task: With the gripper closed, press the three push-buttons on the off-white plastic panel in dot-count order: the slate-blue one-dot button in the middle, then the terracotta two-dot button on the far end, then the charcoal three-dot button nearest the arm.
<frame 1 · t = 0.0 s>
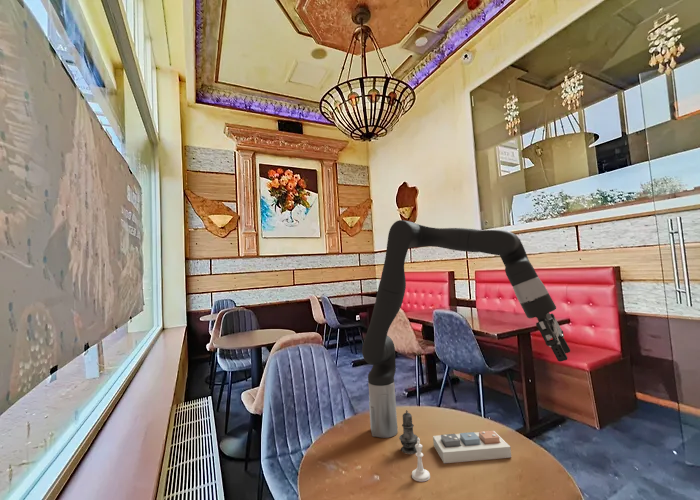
hand: (565, 356, 86), 31 cm above the table, tool tilted 20°, fingers open, 8 cm apart
dark grey tall piece: (409, 450, 105), on the table
chess piece: (420, 477, 91), on the table
button panel: (470, 451, 101), on the table
three-dot button: (450, 441, 101), point 3 cm above the table, slide at 0.0 cm
two-dot button: (489, 438, 102), point 3 cm above the table, slide at 0.0 cm
one-dot button: (469, 439, 102), point 3 cm above the table, slide at 0.0 cm
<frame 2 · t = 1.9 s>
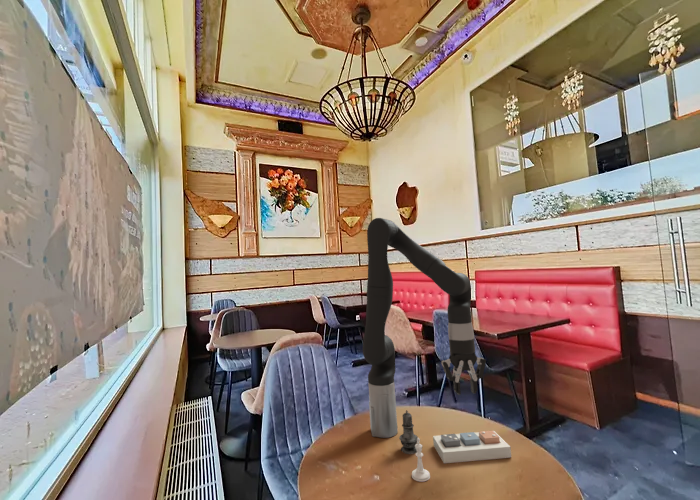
hand: (465, 393, 103), 17 cm above the table, tool pointing down, fingers open, 4 cm apart
nothing on the table moved.
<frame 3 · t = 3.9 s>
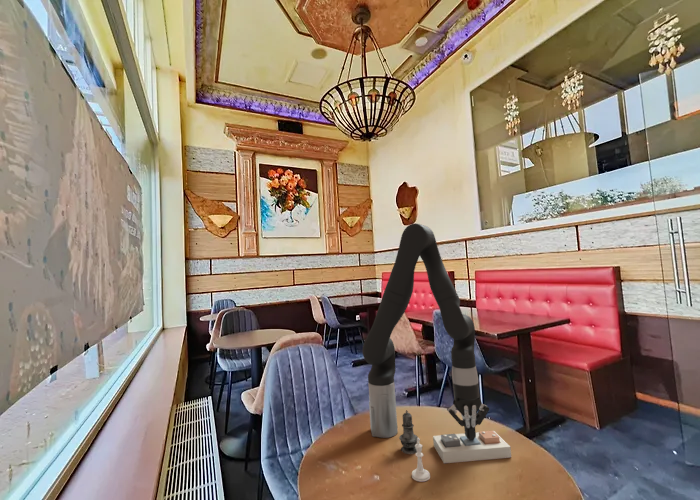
hand: (470, 438, 102), 4 cm above the table, tool pointing down, fingers closed
one-dot button: (470, 443, 102), point 2 cm above the table, slide at 1.0 cm, touching button panel, gripper
everything else where it was.
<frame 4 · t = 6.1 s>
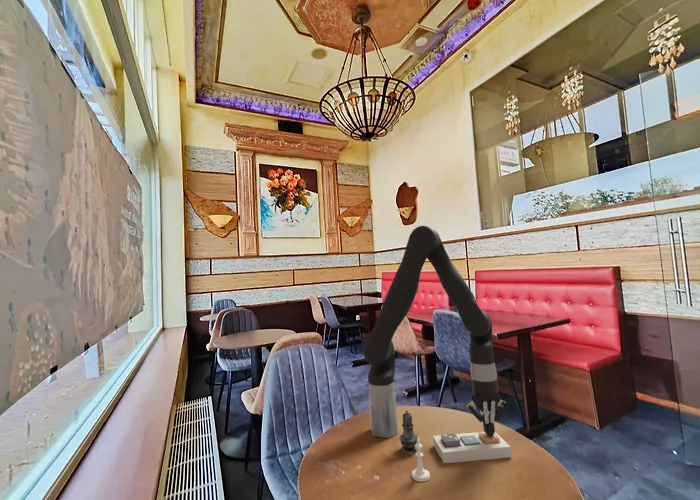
hand: (489, 434, 102), 4 cm above the table, tool pointing down, fingers closed
two-dot button: (489, 439, 102), point 3 cm above the table, slide at 0.3 cm, touching gripper
one-dot button: (470, 443, 102), point 2 cm above the table, slide at 1.0 cm, touching button panel
everything else where it was.
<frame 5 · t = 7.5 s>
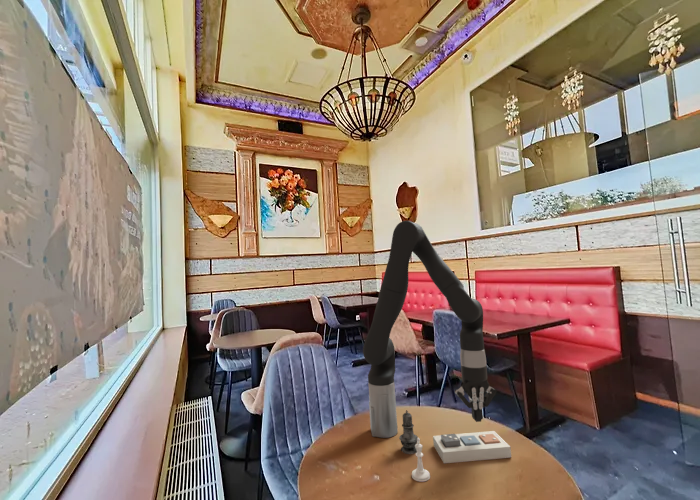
hand: (477, 420, 103), 9 cm above the table, tool pointing down, fingers closed
two-dot button: (489, 441, 102), point 2 cm above the table, slide at 1.0 cm, touching button panel
everything else where it was.
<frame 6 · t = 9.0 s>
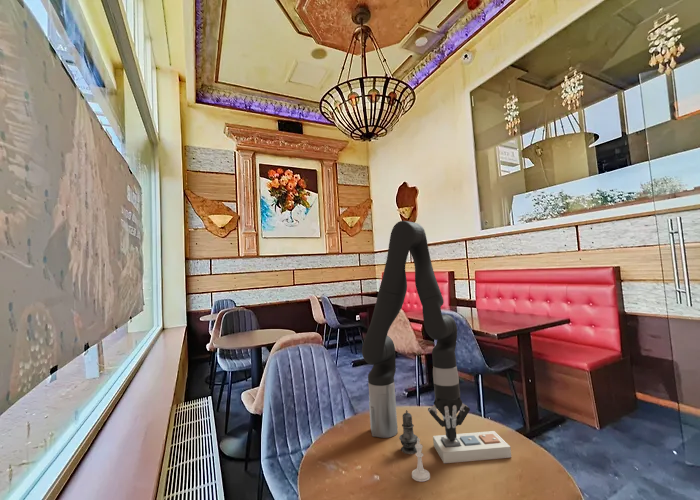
hand: (451, 439, 101), 4 cm above the table, tool pointing down, fingers closed
three-dot button: (450, 443, 101), point 3 cm above the table, slide at 0.7 cm, touching gripper
everything else where it was.
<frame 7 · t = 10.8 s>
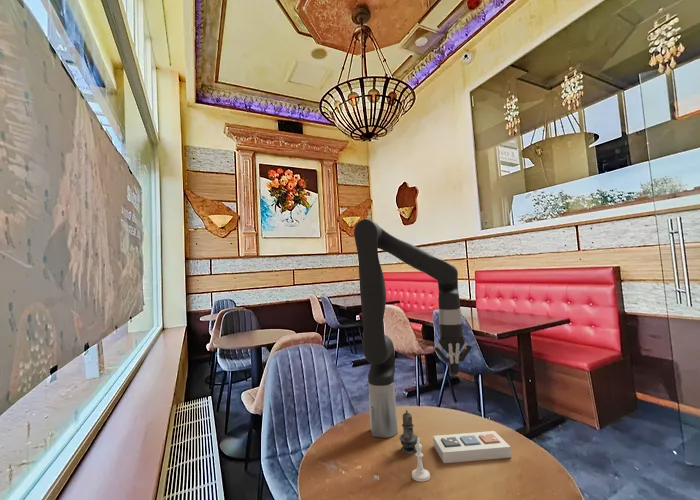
hand: (454, 374, 112), 20 cm above the table, tool pointing down, fingers closed
three-dot button: (450, 444, 101), point 2 cm above the table, slide at 1.0 cm, touching button panel
everything else where it was.
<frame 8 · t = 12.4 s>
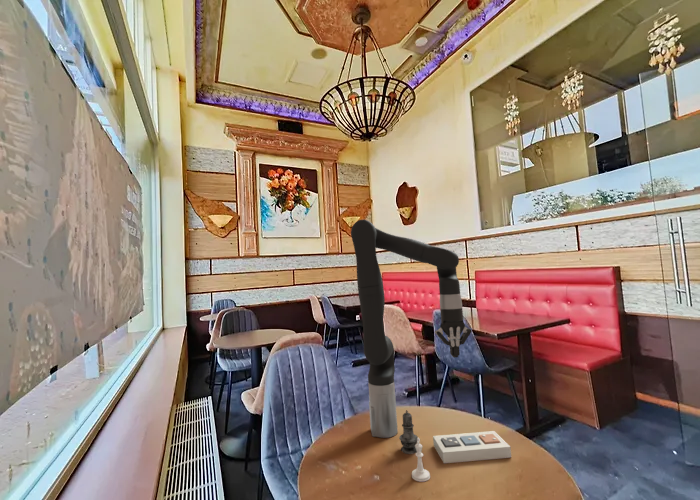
hand: (455, 356, 116), 25 cm above the table, tool pointing down, fingers closed
nothing on the table moved.
at the end: one-dot button slide at 1.0 cm; two-dot button slide at 1.0 cm; three-dot button slide at 1.0 cm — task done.
